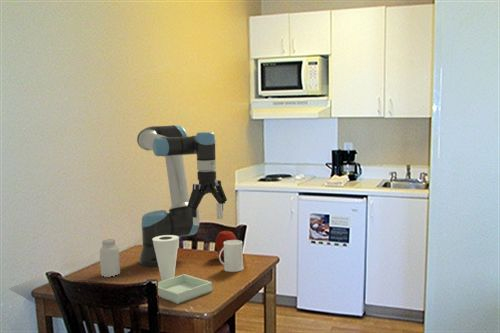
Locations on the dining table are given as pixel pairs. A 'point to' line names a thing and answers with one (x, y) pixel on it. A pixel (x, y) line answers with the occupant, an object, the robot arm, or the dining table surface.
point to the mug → (232, 256)
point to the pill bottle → (109, 258)
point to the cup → (166, 254)
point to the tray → (183, 288)
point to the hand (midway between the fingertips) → (208, 222)
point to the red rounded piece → (223, 240)
